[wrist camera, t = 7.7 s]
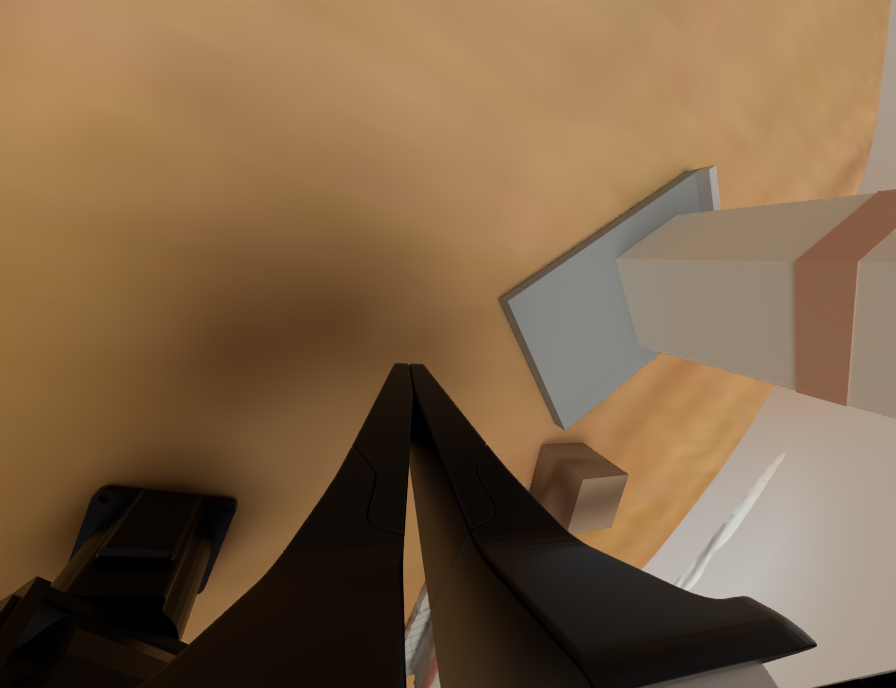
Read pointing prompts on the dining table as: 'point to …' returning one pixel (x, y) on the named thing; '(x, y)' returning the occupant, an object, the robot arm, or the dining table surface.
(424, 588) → the packaged product
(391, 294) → the dining table surface
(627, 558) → the dining table surface
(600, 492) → the walnut block
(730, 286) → the carton
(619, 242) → the podium
